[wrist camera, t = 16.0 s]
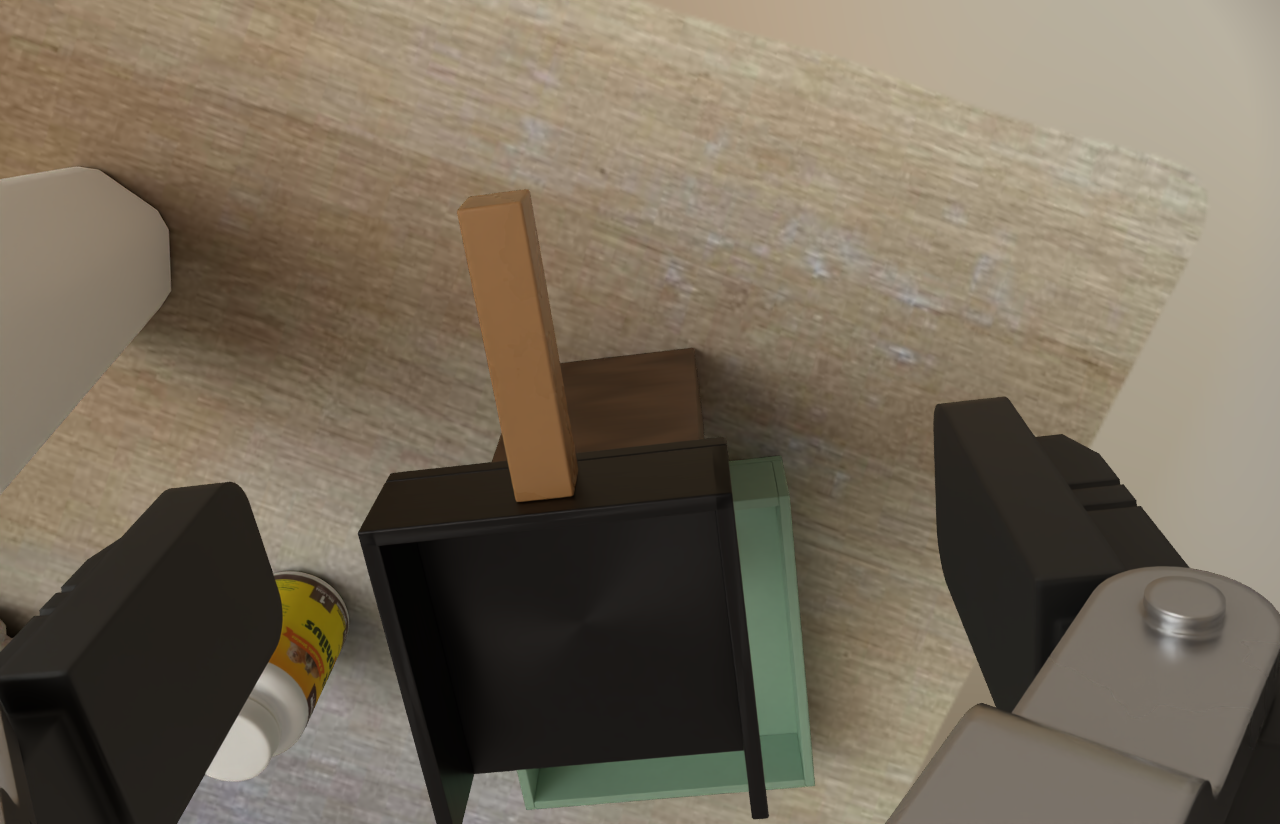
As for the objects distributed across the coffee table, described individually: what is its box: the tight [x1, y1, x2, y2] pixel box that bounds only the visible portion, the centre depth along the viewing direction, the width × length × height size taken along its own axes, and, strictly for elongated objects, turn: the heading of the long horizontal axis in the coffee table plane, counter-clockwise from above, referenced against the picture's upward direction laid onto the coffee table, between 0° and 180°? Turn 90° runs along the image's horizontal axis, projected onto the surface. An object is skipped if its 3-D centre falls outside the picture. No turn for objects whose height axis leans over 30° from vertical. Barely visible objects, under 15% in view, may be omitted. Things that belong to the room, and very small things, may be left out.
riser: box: [492, 348, 705, 462], centre depth 42 cm, size 8×4×18 cm, turn 98°
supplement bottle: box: [205, 571, 349, 781], centre depth 51 cm, size 6×6×10 cm
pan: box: [358, 189, 769, 824], centre depth 30 cm, size 10×19×4 cm, turn 8°
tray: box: [517, 456, 815, 810], centre depth 53 cm, size 15×17×4 cm
